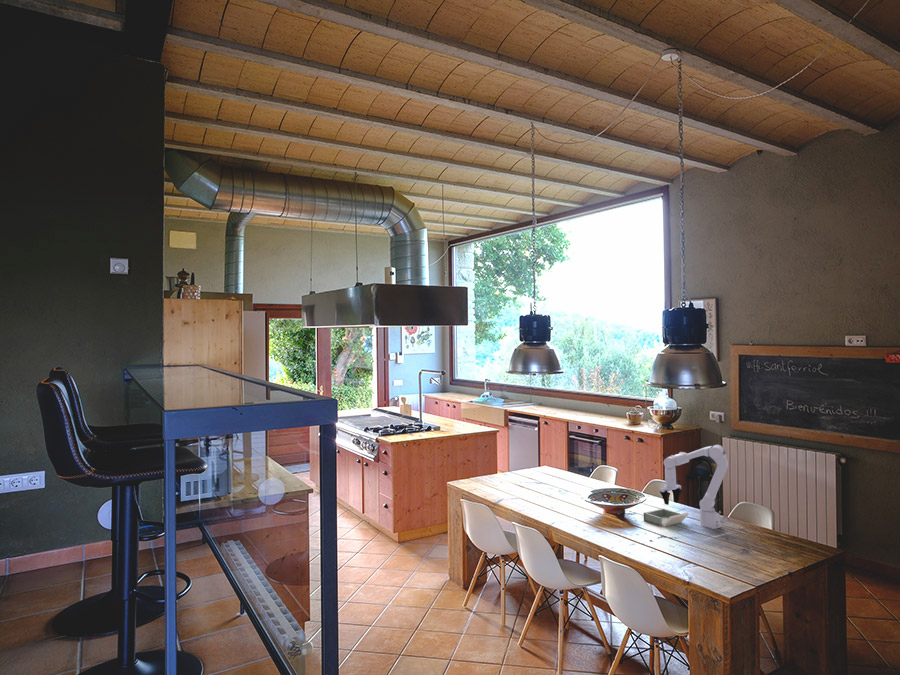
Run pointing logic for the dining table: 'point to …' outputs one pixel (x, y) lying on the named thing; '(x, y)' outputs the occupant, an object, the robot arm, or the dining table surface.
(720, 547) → the dining table surface
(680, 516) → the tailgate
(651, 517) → the cart bed
